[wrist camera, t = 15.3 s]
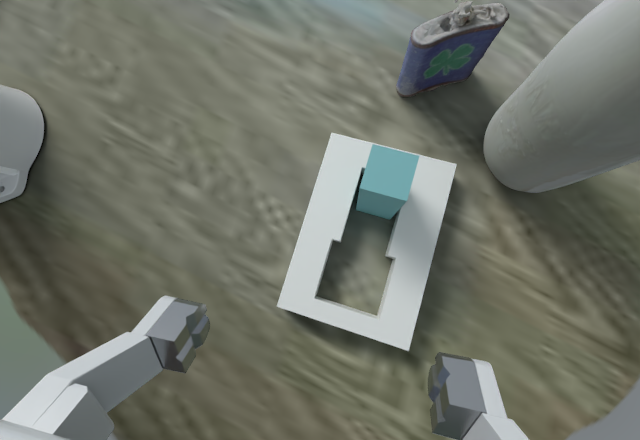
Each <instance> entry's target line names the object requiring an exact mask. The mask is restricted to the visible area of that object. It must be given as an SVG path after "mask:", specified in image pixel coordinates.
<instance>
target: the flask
mask: <svg viewBox="0 0 640 440" xmlns="http://www.w3.org/2000/svg"><path fill="white" fill-rule="evenodd" d="M454 2H457V0H455V1H454ZM471 4H472V1H469V2H468V1H466V2H461V3H460V4H459V5H458V8H457V9H455V10H454V11H451V12H449V13H446V14H443V15H440V16H438V17H436V18H434V19H432V20H429V21H427V22H425V23H423V24H421V25H419V26H417V27H416V28H415V29H414V30H413V31H412V33H411V37H410V41H409V45H408V48H407V52H406V55H405V58H404V61H403V66H402V69H401V73H400V76H399V79H398V82H397V84H396V89H397V93H398V94H399V96H402V97H410V96H411V97H412V96H416V94H418V93H421V92H425V91H426V92H428V91H432V90H435V89H437V88H438V87H439V86H441V85H444V86H446V85H447V84H449V83H454V84H455V83H457V82H462V81H466V80H467V79H468V77H469V76H470V74H471V73H472V71H473V69H474V68H475V66H476V65H477V63H478V62H479V61H480V59H481V58H482V57H483V56H484V54H485V52H486V50H487V48H488V47H489V46H490V44H491V43H492V41H493V40H494V38H495V37H496V35H497V34H498V33H499V31H500V30H501V28H502V27H503V26H504V24H505V22H506V21H507V20H508V18H509V13H508V11H507V8H506V7H504V6H503V5H502V4H500V3H490V4H485V5H475V6H471Z"/></svg>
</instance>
